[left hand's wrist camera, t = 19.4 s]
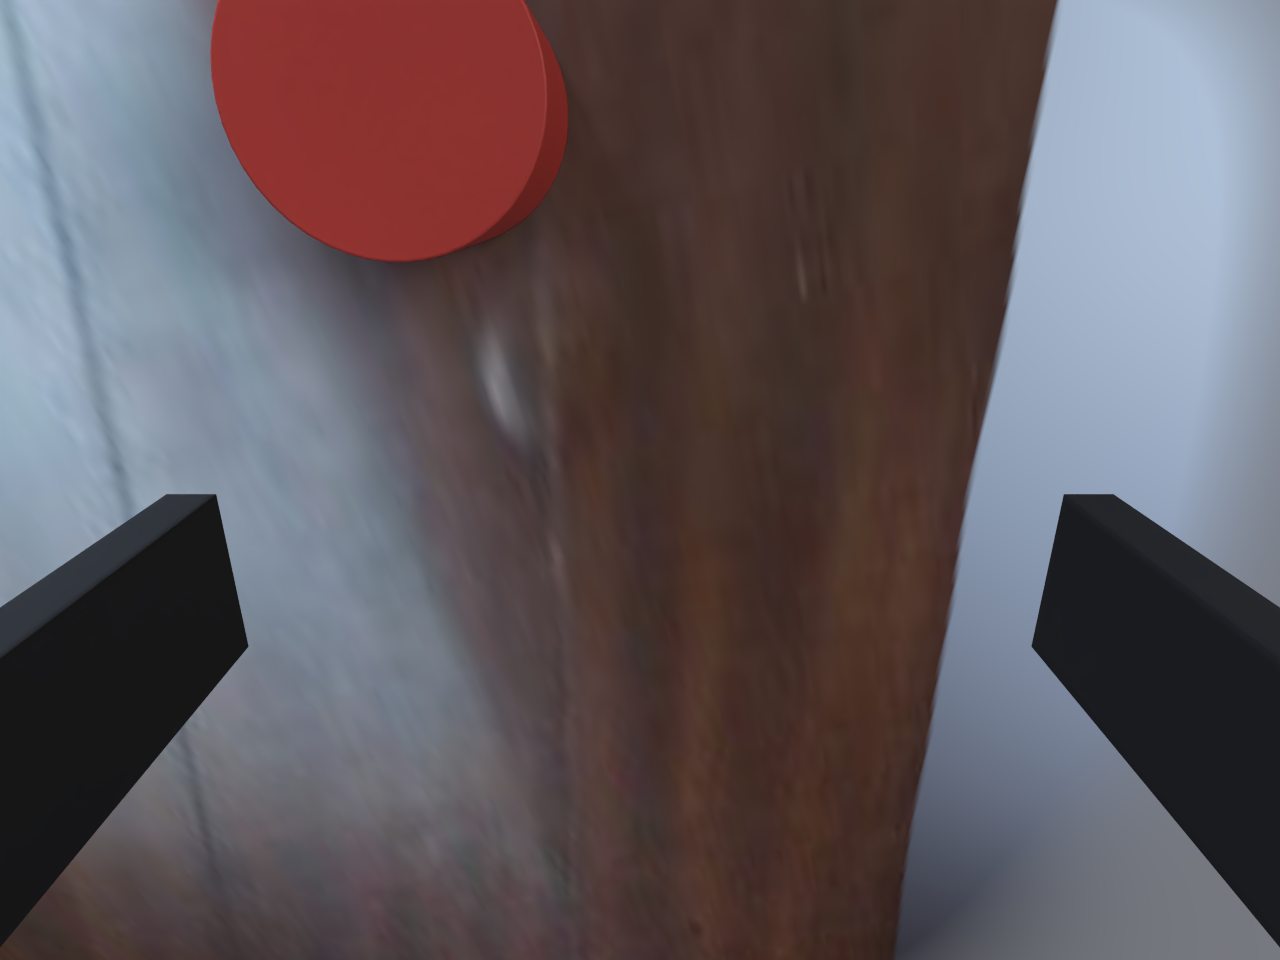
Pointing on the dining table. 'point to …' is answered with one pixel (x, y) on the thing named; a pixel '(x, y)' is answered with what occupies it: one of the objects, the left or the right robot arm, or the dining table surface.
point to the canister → (392, 117)
